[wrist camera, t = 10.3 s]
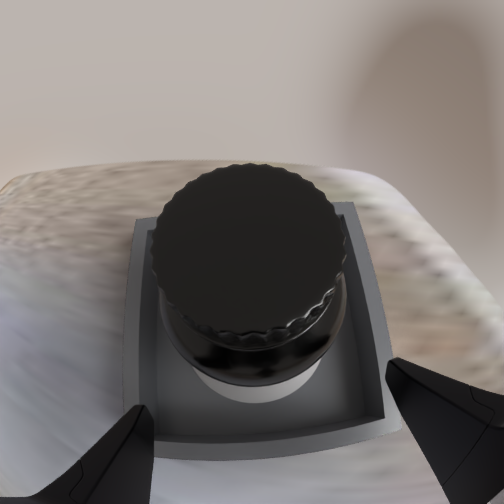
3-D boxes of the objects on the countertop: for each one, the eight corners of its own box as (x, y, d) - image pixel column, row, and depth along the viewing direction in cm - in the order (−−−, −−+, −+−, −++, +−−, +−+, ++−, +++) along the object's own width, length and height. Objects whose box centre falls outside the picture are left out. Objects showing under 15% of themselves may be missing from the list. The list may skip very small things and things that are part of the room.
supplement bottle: (209, 280, 19) (155, 138, 8) (311, 287, 18) (366, 146, 8) (195, 382, 16) (83, 353, 5) (307, 391, 15) (401, 383, 5)
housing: (375, 424, 15) (401, 429, 11) (152, 443, 14) (127, 453, 11) (339, 232, 22) (352, 201, 18) (153, 247, 22) (135, 219, 18)
